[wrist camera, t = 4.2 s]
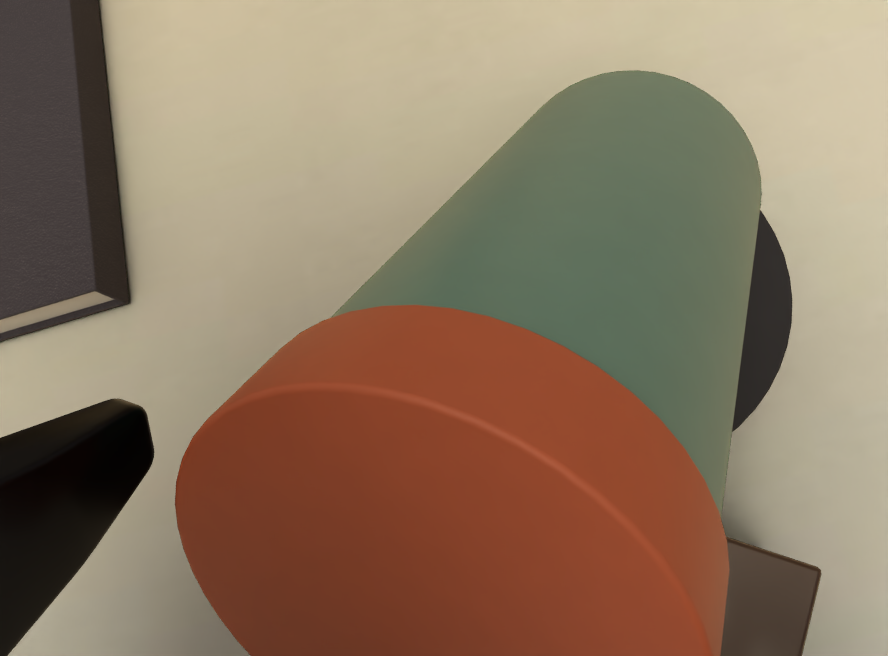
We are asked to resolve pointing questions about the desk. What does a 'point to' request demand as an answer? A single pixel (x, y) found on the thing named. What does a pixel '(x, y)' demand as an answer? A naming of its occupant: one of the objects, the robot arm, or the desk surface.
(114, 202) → the notebook
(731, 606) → the block
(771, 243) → the coaster
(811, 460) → the desk surface
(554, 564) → the container
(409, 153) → the desk surface
